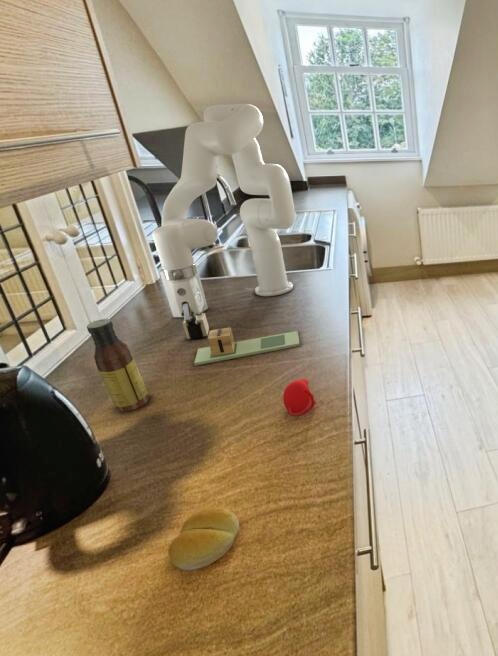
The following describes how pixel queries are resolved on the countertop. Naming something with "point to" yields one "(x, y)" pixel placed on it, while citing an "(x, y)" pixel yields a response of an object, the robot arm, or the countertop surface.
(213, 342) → the letter I
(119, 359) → the sauce bottle
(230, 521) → the bread roll
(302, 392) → the cap
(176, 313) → the milk carton
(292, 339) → the word mat
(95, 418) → the countertop surface
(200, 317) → the letter T
